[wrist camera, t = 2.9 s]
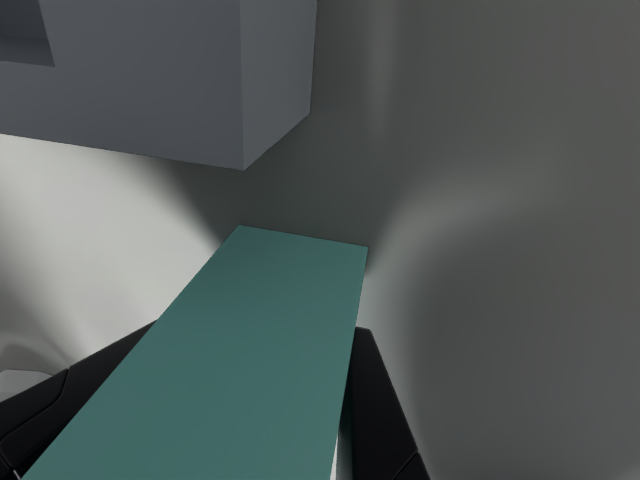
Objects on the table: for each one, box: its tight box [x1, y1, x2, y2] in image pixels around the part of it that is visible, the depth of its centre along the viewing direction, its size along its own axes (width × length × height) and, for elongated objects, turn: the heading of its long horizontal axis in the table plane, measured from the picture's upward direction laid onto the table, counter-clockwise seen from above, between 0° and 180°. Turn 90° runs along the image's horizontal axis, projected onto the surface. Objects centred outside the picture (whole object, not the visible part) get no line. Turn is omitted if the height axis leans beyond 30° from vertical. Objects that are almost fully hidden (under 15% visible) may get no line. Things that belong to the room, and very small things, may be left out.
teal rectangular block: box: [21, 225, 368, 480], centre depth 8 cm, size 4×4×8 cm
